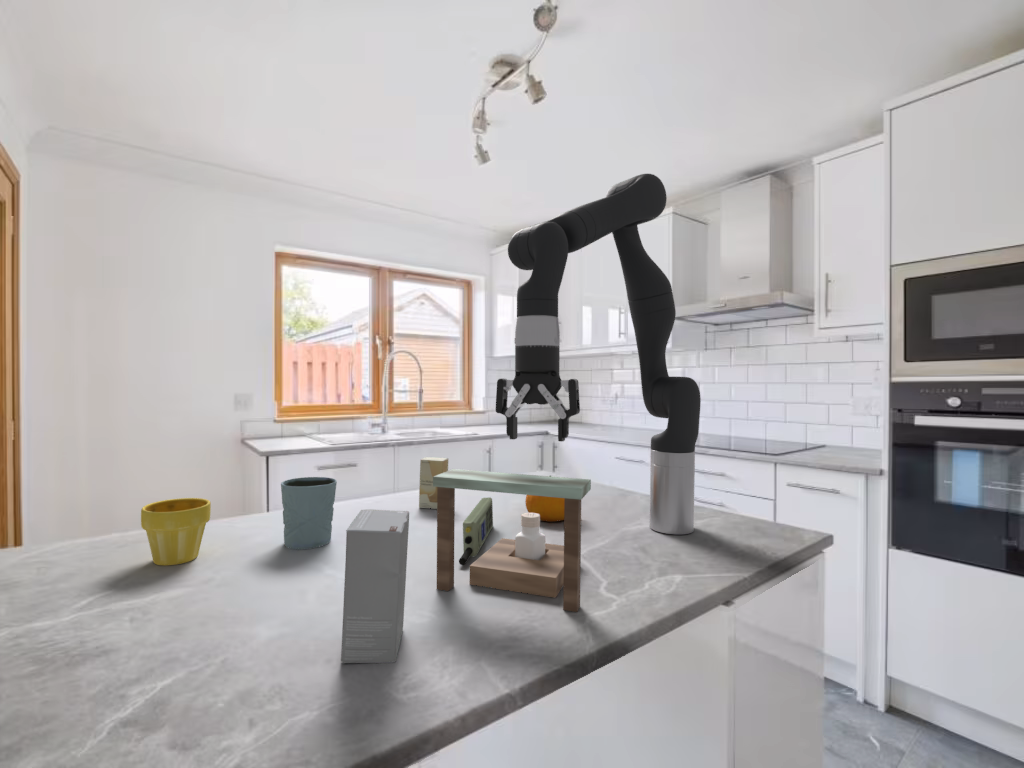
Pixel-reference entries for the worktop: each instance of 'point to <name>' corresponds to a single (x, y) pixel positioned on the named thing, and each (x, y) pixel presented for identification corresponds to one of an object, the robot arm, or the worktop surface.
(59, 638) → the worktop surface
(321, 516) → the teal cup
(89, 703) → the worktop surface
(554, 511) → the fruit
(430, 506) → the skincare box
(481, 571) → the stand
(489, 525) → the handheld radio
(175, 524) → the plant pot
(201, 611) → the worktop surface
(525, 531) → the pepper shaker
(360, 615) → the skincare box
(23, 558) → the worktop surface
